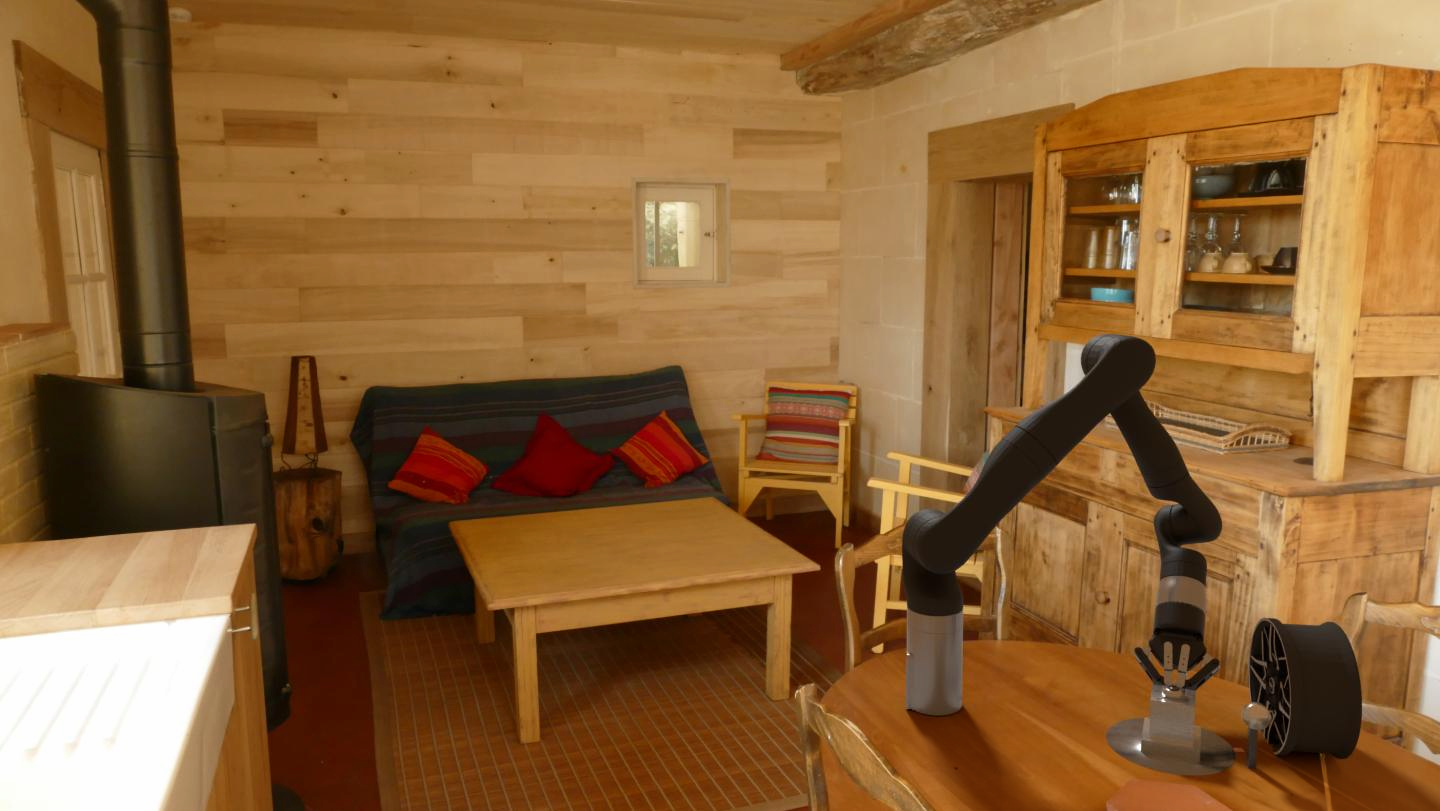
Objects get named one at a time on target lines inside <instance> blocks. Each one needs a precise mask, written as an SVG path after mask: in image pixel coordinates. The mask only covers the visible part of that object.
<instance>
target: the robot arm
mask: <svg viewBox="0 0 1440 811" xmlns="http://www.w3.org/2000/svg"><path fill="white" fill-rule="evenodd" d="M1156 356H1157V354H1156V352H1155V349H1154V347H1153V346H1152V345H1151V344H1150V343H1149V342H1148V341H1146V340H1145V339H1143V338H1140V337H1138V336H1134V335H1133V336H1132V335H1126V334H1118V333H1117V334H1116V333H1104V334H1103V333H1102V334H1099V335H1095V336H1093V337H1092V338H1090V339H1089V340H1088V342H1086V343H1085V345H1084V347H1083V348H1082V351H1081V354H1080V366H1081V370H1082V372H1083V374H1084V377H1083V378H1082V379H1081V380H1080V381H1079V382H1078V383H1077V384H1076V385H1074V387H1072V388H1071V389H1070V390H1069V391H1067V392H1066V393H1064V394H1062V395H1061V396H1059V397H1058V398H1056V399H1054V400H1052V401H1050V402H1049V403H1047V404H1045V405H1043V406H1041V407H1040V408H1037V409H1036V410H1035V411H1032V412H1031V413H1029V414H1028V415H1027V416H1025V417H1023V418H1022V419H1021V420H1020V421H1018V422H1017V423H1016V424H1015V425H1014V426H1013V427H1012V429H1010V430H1009V431H1008V432H1007V433H1006V435H1005V436H1004V437H1003V438H1001V439H1000V440H999V441H998V443H997V444H996V445H994V447H993V448H992V450H991V451H990V453H989V455H988V457H987V459H986V460H985V462H984V465H983V466H982V469H981V472H980V473H979V476H978V477H977V480H976V482H975V483H974V484H973V486H972V488H971V489H970V490H969V492H968V493H967V494H966V495H965V496H964V497H963V498H962V499H961V500H959V502H958V503H957V504H956V505H954V506H953V507H952V508H951V509H950V510H948V512H946V513H944V512H943V511H941V510H940V509H939V510H938V509H934V508H924V509H921V510H918V511H916V512H915V513H913V514H912V515H911V516H910V517H909V519H908V520H907V521H906V523H905V526H904V529H903V532H902V539H901V541H902V542H901V557H902V558H901V559H902V560H901V562H902V566H901V567H902V582H903V589H904V592H905V595H906V655H905V709H906V708H907V709H906V710H908V709H912V710H911V711H914V710H915V711H914V712H917V713H920V714H923V715H929V716H949V715H952V714H955V713H957V712H958V711H960V710H961V709H962V705H963V657H964V656H963V653H964V652H963V648H964V647H963V645H964V644H963V641H964V640H963V639H964V593H963V590H962V588H961V586H960V584H959V581H958V576H957V572H956V571H957V570H959V569H960V568H961V567H963V566H964V565H965V564H966V563H967V562H968V561H969V559H971V557H972V556H973V555H974V554H975V553H976V552H977V550H978V549H979V548H980V547H981V545H982V544H983V543H984V541H985V540H987V538H988V536H989V535H990V534H992V533H991V532H992V531H993V530H994V529H996V527H997V526H998V525H999V524H1000V522H1001V521H1002V520H1003V519H1004V518H1005V517H1006V516H1007V515H1008V514H1009V513H1010V512H1011V511H1012V510H1014V508H1015V507H1016V506H1017V505H1019V503H1021V501H1022V500H1023V499H1024V498H1025V497H1026V496H1027V495H1028V494H1029V493H1030V492H1031V491H1033V489H1034V488H1036V486H1037V485H1039V484H1040V483H1041V482H1042V481H1043V480H1044V479H1045V478H1046V477H1047V476H1048V475H1049V474H1050V473H1051V472H1052V471H1053V470H1054V469H1056V467H1057V466H1059V464H1060V463H1062V461H1063V460H1064V459H1065V457H1067V456H1068V454H1070V452H1072V450H1074V449H1075V447H1076V446H1078V445H1079V444H1080V443H1081V442H1082V441H1083V440H1084V439H1085V438H1086V437H1087V436H1088V435H1089V434H1090V433H1091V432H1092V431H1093V430H1094V428H1096V427H1097V426H1098V424H1100V423H1101V422H1102V421H1103V420H1104V419H1105V418H1107V416H1109V415H1110V416H1111V417H1112V419H1113V421H1114V422H1115V424H1116V426H1117V427H1118V429H1119V432H1120V433H1121V436H1122V437H1123V439H1124V440H1125V442H1126V445H1127V446H1128V448H1129V450H1130V453H1131V455H1132V456H1133V459H1134V461H1135V463H1136V466H1137V467H1138V469H1139V472H1140V474H1141V477H1142V479H1143V481H1144V482H1145V483H1144V484H1145V485H1146V488H1147V490H1148V491H1149V493H1150V495H1151V496H1152V498H1154V499H1156V500H1158V501H1159V500H1160V501H1167V502H1174V504H1167V505H1164V506H1161V507H1160V508H1159V509H1158V510H1157V512H1156V513H1155V514H1154V519H1153V527H1154V529H1153V530H1154V533H1155V536H1156V540H1157V544H1158V550H1159V556H1160V569H1159V570H1160V572H1159V583H1158V588H1157V590H1156V591H1157V592H1156V597H1155V608H1154V619H1153V630H1152V635H1151V638H1150V639H1149V640H1148V644H1147V645H1145V646H1143V647H1139V646H1138V647H1137V646H1136V647H1134V658H1135V659H1136V661H1137V662H1138V664H1139V665H1140V666H1141V668H1142V670H1143V672H1145V674H1146V676H1148V679H1149V680H1150V681H1151V682H1152V685H1153V684H1155V685H1161V686H1164V685H1169V684H1170V685H1174V681H1173V680H1174V673H1173V672H1174V671H1177V674H1176V682H1175V685H1177V686H1180V687H1182V688H1184V689H1188V690H1194V691H1197V690H1198V689H1199V688H1201V687H1202V686H1204V684H1205V683H1207V682H1208V681H1209V680H1210V679H1211V678H1212V677H1213V676H1214V675H1216V674H1217V672H1219V671H1220V667H1221V666H1220V665H1221V662H1220V660H1219V659H1218V658H1217V657H1216V658H1215V657H1214V658H1213V657H1212V656H1211V655H1209V653H1208V650H1207V649H1208V648H1207V647H1206V645H1205V634H1206V633H1205V631H1206V615H1207V593H1206V592H1207V591H1206V589H1207V577H1208V576H1207V573H1208V563H1207V562H1208V561H1207V558H1206V557H1205V556H1204V555H1203V554H1202V552H1200V551H1197V550H1195V549H1193V548H1186V547H1182V546H1185V545H1186V546H1187V545H1195V544H1202V543H1203V544H1204V543H1210V542H1213V541H1216V540H1217V539H1218V538H1219V537H1220V536H1221V534H1222V530H1223V521H1222V516H1221V514H1220V512H1219V510H1218V508H1217V507H1216V505H1215V504H1214V503H1213V501H1212V499H1210V498H1209V497H1208V495H1207V494H1206V493H1205V492H1204V491H1203V490H1202V489H1201V487H1200V485H1198V484H1197V482H1196V481H1195V479H1193V478H1192V476H1191V474H1190V472H1189V469H1188V467H1187V466H1186V463H1185V460H1184V458H1183V456H1182V454H1181V452H1180V449H1179V448H1178V445H1177V444H1176V443H1175V441H1174V439H1173V437H1172V436H1171V434H1170V433H1169V431H1167V429H1166V428H1165V426H1163V424H1162V423H1161V422H1160V420H1159V419H1158V417H1157V416H1156V415H1155V414H1154V412H1153V411H1152V410H1151V409H1150V407H1149V406H1148V404H1147V402H1146V400H1145V399H1144V396H1143V395H1142V393H1141V391H1140V390H1141V389H1142V388H1143V387H1144V386H1145V385H1146V384H1147V383H1148V381H1149V380H1150V379H1151V377H1152V376H1153V374H1154V372H1155V368H1156V364H1157V357H1156ZM1175 503H1176V504H1175ZM1151 654H1152V655H1153V656H1154V658H1155V660H1156V661H1157V663H1158V664H1159V665H1160V666H1161V667H1162V668H1163V669H1164V670H1163V675H1162V674H1160V672H1159V671H1158V669H1157V668H1156V667H1155V665H1154V663H1153V662H1152V661H1151V660H1152V656H1151ZM1202 661H1203V662H1202ZM1201 662H1202V663H1201ZM1200 663H1201V668H1200V669H1199V670H1198V671H1197V672H1196V673H1195V674H1193V675H1192V676H1191V677H1190V678H1189V679H1188V672H1190V671H1192V670H1194V669H1195V668H1196V667H1197V666H1198V665H1199V664H1200Z"/></svg>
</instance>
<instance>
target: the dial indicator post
mask: <svg viewBox="0 0 1440 811" xmlns="http://www.w3.org/2000/svg"><path fill="white" fill-rule="evenodd" d="M1241 718H1242V720H1243V721H1244V723H1245V725H1246V726H1247V727H1248V728H1247V742H1246V743H1247V745H1246V760H1245V761H1246V763H1245V766H1246V767H1247V769H1250V770H1251V769H1252V770H1256V768H1257V766H1256V765H1257V754H1258V753H1257V751H1258V736H1259V735H1258V734H1259V731H1260V730H1262V729H1265V728H1266V727H1268V726H1269V724H1270V723H1271V719H1272V718H1271V714H1270V712H1269V711H1268V709H1267V708H1266V707H1265V706H1264V705H1263V704H1261V703H1257V702H1251V701H1250V702H1249V703H1247V704H1246V705H1245V706H1243V708H1242V710H1241Z"/></svg>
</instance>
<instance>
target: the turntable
mask: <svg viewBox="0 0 1440 811" xmlns="http://www.w3.org/2000/svg"><path fill="white" fill-rule="evenodd" d="M1144 718H1145V717H1138V718H1129V719H1125V720H1122V721H1119V722H1116V723H1115V724H1112V725H1111V726H1109V728H1108V730H1107V731H1106V736H1105V739H1106V742H1107V744H1108V745H1109V747H1110V749H1112V751H1114V752H1115V753H1117V755H1119V757H1120V756H1121V757H1122V758H1123V759H1125V760H1128V761H1129V762H1131V763H1132V764H1136V765H1137V766H1140V767H1144V768H1147V769H1148V770H1153V771H1156V772H1160V773H1161V772H1162V773H1166V774H1171V775H1179V776H1209V775H1214V774H1218V773H1222V772H1224V771H1227V770H1228V769H1230V768H1231V767H1233V765H1234V764H1235V762H1236V760H1237V756H1236V755H1237V754H1236V753H1246V751H1245V750H1244V747H1243V748H1242V747H1233V746H1232V745H1231V744H1230V743H1229V742H1228V741H1227V740H1225V739H1224V738H1223V737H1221V736H1219V735H1218V734H1216V733H1214V732H1213V731H1211V730H1208V729H1206V728H1204V727H1201V745H1200V762H1195V761H1189V760H1183V759H1178V758H1172V757H1167V756H1161V755H1155V754H1150V753H1144V752H1141V738H1142V731H1143V725H1144Z"/></svg>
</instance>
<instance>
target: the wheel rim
mask: <svg viewBox="0 0 1440 811" xmlns="http://www.w3.org/2000/svg"><path fill="white" fill-rule="evenodd" d="M1350 641H1351V640H1350V639H1349V637H1348V636H1347V634H1346V631H1345V630H1344V629H1343V628H1342V627H1341V626H1340V625H1339V624H1338V623H1336V622H1333V621H1325V622H1322V623H1321V624H1318V625H1317V624H1316V625H1315V624H1295V623H1283V622H1282V621H1280V620H1279V619H1277V618H1273V617H1272V618H1271V617H1261V619H1259V620H1258V621H1257V623H1256V625H1255V626H1254V629H1253V632H1252V634H1251V640H1250V647H1249V654H1248V688H1249V690H1248V691H1249V697H1250V702H1257V703H1261V704H1263V705H1264V706H1265V707H1266V708H1267V709H1268V711H1269V712H1270V714H1271V718H1272V719H1271V723H1270V724H1269V726H1268V727H1266V728H1265V729H1262V730H1259V731H1260V732H1262V734H1263V738H1264V739H1266V740H1267V741H1266V743H1267V744H1269V745H1272V749H1273V750H1272V753H1273V754H1274V756H1287V755H1289V754H1290V753H1291V752H1299V753H1300V752H1301V753H1311V754H1312V753H1314V754H1327V755H1328V754H1329V756H1332V757H1333V758H1335V759H1337V760H1346V759H1348V758H1350V756H1352V754H1353V753H1354V752H1355V749H1356V747H1357V744H1358V741H1359V738H1360V734H1361V728H1362V722H1363V721H1362V720H1363V694H1362V682H1361V676H1360V671H1359V667H1358V661H1357V658H1356V654H1355V652H1354V649H1353V646H1352V644H1351V642H1350Z"/></svg>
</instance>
